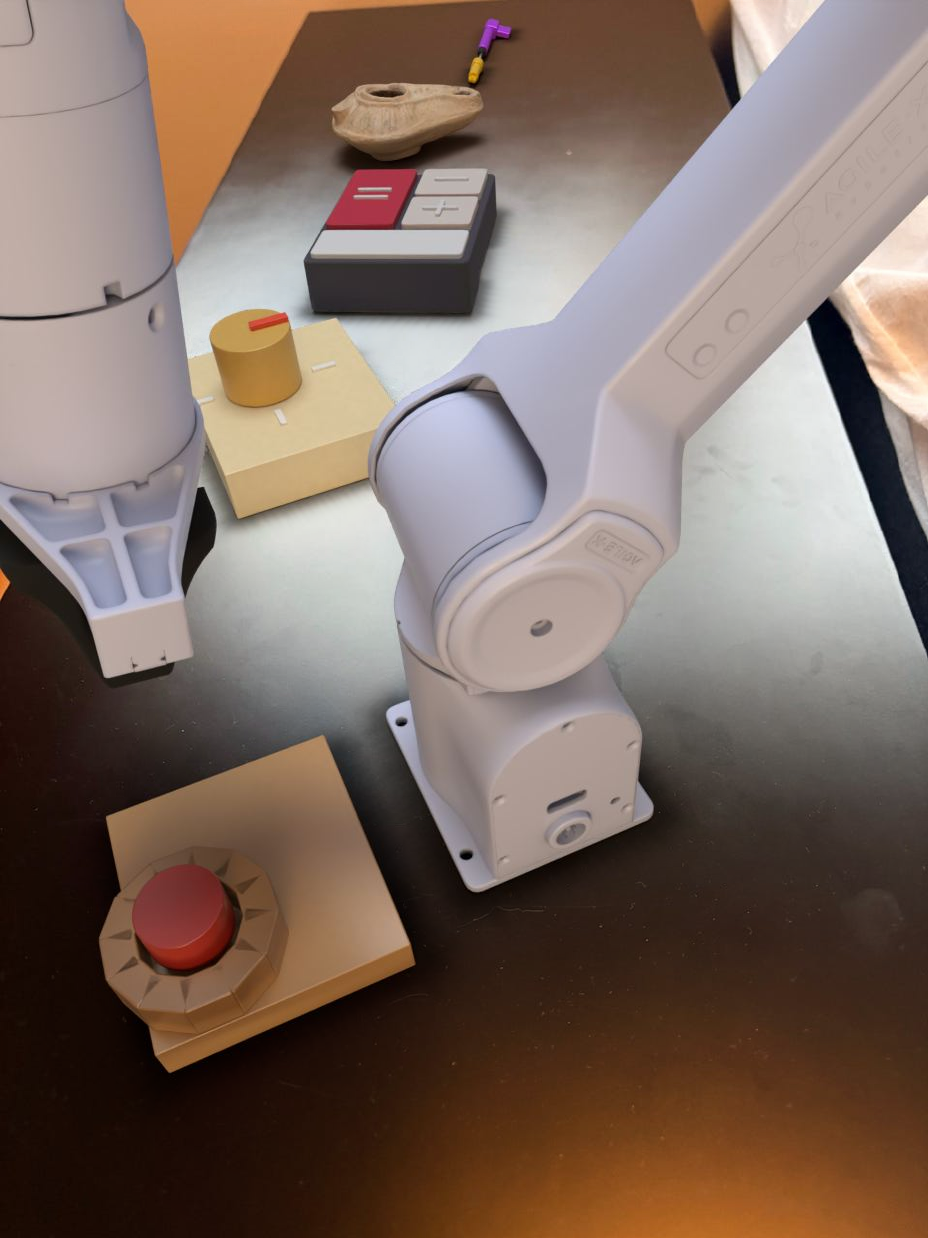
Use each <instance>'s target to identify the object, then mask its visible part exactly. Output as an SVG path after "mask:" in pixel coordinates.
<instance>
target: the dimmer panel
mask: <svg viewBox="0 0 928 1238" xmlns="http://www.w3.org/2000/svg"><path fill="white" fill-rule="evenodd" d="M291 330H292V335H293V339H294V344H295V349H296V353H297V358H298V362H299V367H300V371H301V376H302V381H301V385H300V387H299V388H298V390H297V391H296V392H295V393H294V394H292V395H291V396H290V397H288V398H286V399H285V400H283V401H280V402H278V403H275V404H271V405H267V406H259V407H250V406H243V405H239V404H236V403H234V402H232V401H231V400H230V399H229V398H228V397H227V396H226V394H225V391H224V388H223V384H222V381H221V377H220V374H219V370H218V367H217V363H216V360H215V357H214V353H213V351H211V352H207V353H204V354H200V355H197V356H194V357H190V358H188V366H189V373H190V381H191V388H192V395H193V396H194V397H195V399H196V401H197V402H198V404H199V405H200V407H201V411H202V414H203V419H204V427H205V435H206V444H205V445H206V446H207V448H208V450H209V454H210V455H211V458H212V460H213V463H214V465H215V468H216V470H217V472H218V475H219V477H220V480H221V482H222V485H223V487H224V489H225V491H226V494H227V496H228V499H229V500H230V501H229V502H230V503H231V505H232V508H233V510H234V513H235V515H236V517H237V519H238V520H240V519H243V518H246V517H249V516H252V515H255V514H259V513H261V512H264V511H265V512H266V511H268V510H271V509H274V508H277V507H281V506H283V505H287V504H289V503H290V504H291V503H292V502H297V501H299V500H303V499H305V498H309V497H312V496H316V495H318V494H321V493H324V492H327V491H331V490H335V489H337V488H340V487H343V486H346V485H350V484H352V483H356V482H358V481H362V480H366V479H369V476H368V454H369V449H370V445H371V442H372V439H373V437H374V434H375V432H376V431H377V429H378V427H379V425H380V423H381V422H382V421H383V419H384V418H385V417H386V416H387V414H388V413H389V412H390V411H391V410H392V409H393V408H394V407H395V406H396V405H397V404H396V403H395V402H394V400H393V399H392V398H391V396H390V395H389V393H388V392H387V390H386V389H385V387H384V386H383V384H382V383H381V381H380V380H379V379H378V377H377V376H376V374H375V373H374V371H373V369H372V368H371V367H370V365H369V364H368V362H367V361H366V360H365V358H364V357H363V355H362V353H361V352H360V351H359V349H358V347H357V346H356V345H355V343H354V342H353V340H352V339H351V337H350V335H349V334H348V333H347V331H346V330H345V328H344V327H343V326H342V324H341V323H340V321H339V319H338V318H337V317H334V318H330V319H327V320H323V321H320V322H316V323H312V324H308V325H304V326H301V327H298V328H294V329H291Z"/></svg>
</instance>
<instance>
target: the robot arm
mask: <svg viewBox="0 0 928 1238" xmlns="http://www.w3.org/2000/svg"><path fill="white" fill-rule="evenodd" d="M126 8H127V7H126V1H125V0H0V571H1V573H2V574H3V575H4V577H5V578H6V580H8V582H9V583H10V584H11V586H12V587H13V588H14V589H15V590H17V591H19V592H21V593H22V594H25V595H26V596H29V597H30V598H32V599H33V600H35V601H37V602H38V603H39V604H41V605H43V606H44V607H45V608H46V609H47V610H49V611H50V612H51V613H52V614H53V615H54V616H55V617H57V618H58V620H59V621H60V622H61V623H62V624H63V626H64V627H65V628H66V629H67V630H68V631H69V633H70V635H71V636H72V638H73V640H74V641H75V642H76V644H77V646H78V647H79V648H80V650H81V652H82V653H83V655H84V657H85V658H86V661H88V663H89V665H90V666H91V668H92V669H93V671H94V672H95V674H96V675H97V676H98V677H99V678H100V680H101V681H102V683H104V684H105V686H106V687H107V688H109V689H112V690H113V689H117V688H122V687H126V686H130V685H133V684H134V685H135V684H138V683H141V682H145V681H150V680H153V679H157V678H161V677H165V676H169V675H171V674H172V672H173V671H174V667H175V664H176V662H178V661H182V660H187V659H190V658H193V657H194V656H195V651H194V650H195V649H194V644H193V637H192V631H191V625H190V620H189V614H188V608H187V602H186V598H187V595H188V591H189V588H190V586H191V584H192V582H193V579H194V577H195V576H196V575H195V574H196V573H197V571H198V570H199V568H200V567H201V565H202V564H203V562H204V560H205V559H206V558H207V556H208V555H209V554H210V553H211V551H212V550H213V549H214V547H215V543H216V538H217V537H216V536H217V530H218V529H217V528H218V521H217V515H216V512H215V509H214V507H213V505H212V503H211V500H210V498H209V496H208V493H207V491H206V488H205V486H199V481H200V477H201V472H202V467H203V462H204V456H205V452H206V445H207V444H206V435H205V427H204V419H203V414H202V411H201V407H200V405H199V404H198V402H197V401H196V399H195V397H194V396H193V395H192V388H191V381H190V373H189V366H188V359H189V358H188V352H187V345H186V338H185V337H186V336H185V329H184V322H183V314H182V307H181V298H180V292H179V291H180V290H179V284H178V277H177V269H176V261H175V255H174V251H173V250H174V249H173V243H172V235H171V227H170V220H169V213H168V206H167V199H166V198H167V197H166V191H165V185H164V177H163V170H162V169H163V168H162V163H161V162H162V161H161V155H160V147H159V141H158V133H157V125H156V119H155V111H154V104H153V96H152V90H151V83H150V75H149V63H148V55H147V48H146V44H145V40H144V38H143V35H142V32H141V29H140V27H138V25H137V24H136V22H135V21H134V20H133V18H132V17H131V15H130V14H129V12H128V11H127V9H126ZM927 197H928V0H823V2H822V3H820V5H819V6H818V7H817V9H816V10H815V11H814V12H813V13H812V15H810V17H809V18H808V19H807V20H806V21H805V23H804V24H803V25H802V26H801V28H800V29H799V30H798V31H797V32H796V33H795V35H793V37H792V38H791V39H790V40H789V41H788V43H786V45H785V46H784V48H783V49H782V50H781V51H780V52H779V53H778V55H777V56H775V58H774V59H773V60H772V62H771V63H770V64H769V65H768V67H766V69H765V70H764V71H763V73H761V75H760V76H759V77H758V78H757V79H756V81H754V82H753V84H752V85H751V86H750V88H748V90H747V91H746V92H745V93H744V95H743V96H742V97H740V100H739V101H738V102H737V103H736V104H735V105H734V106H733V108H732V109H731V110H730V111H729V113H727V115H726V116H725V117H724V118H723V119H722V121H721V122H720V123H719V124H718V125H717V126H716V127H715V129H714V130H713V131H712V132H711V133H710V135H709V136H708V137H707V138H706V140H704V142H703V143H702V144H701V145H700V146H699V147H698V149H697V150H696V151H695V152H694V154H693V155H692V156H691V157H690V158H689V159H688V161H686V163H685V164H684V165H683V166H682V168H680V170H679V171H678V172H677V174H675V176H674V177H673V178H672V180H670V181H669V183H668V184H667V185H666V186H665V188H664V189H663V190H662V191H661V192H660V194H659V195H658V196H657V197H656V198H655V199H654V201H652V203H651V204H650V205H649V206H648V208H646V210H645V211H644V212H643V214H641V216H640V217H639V218H638V219H637V220H636V222H635V223H634V224H633V226H631V228H630V229H629V230H628V231H627V233H625V235H624V236H623V237H622V238H621V239H620V240H619V242H618V243H617V244H616V246H614V248H613V249H612V250H611V251H610V252H609V254H608V255H607V256H605V258H604V259H603V261H602V262H600V263H599V265H598V266H597V268H596V269H595V270H594V271H593V272H592V273H591V274H590V275H589V277H588V278H587V279H586V280H585V282H584V283H583V284H582V285H581V286H580V287H579V289H578V290H577V291H576V292H575V293H574V294H573V296H572V297H571V298H570V299H569V300H568V301H567V303H566V304H565V305H564V307H563V308H562V309H561V310H560V311H559V313H557V315H556V316H555V317H554V318H553V319H551V320H549V321H546V322H543V323H537V324H531V325H525V326H518V327H512V328H506V329H505V328H504V329H502V330H496V331H491V332H488V333H486V334H484V335H483V336H482V337H481V338H480V339H479V340H478V341H477V342H476V344H475V345H474V347H472V349H471V350H470V351H469V352H468V353H467V355H466V356H465V357H464V358H463V359H462V360H461V361H460V362H459V363H457V365H456V366H455V367H453V368H452V369H451V370H449V371H448V372H447V373H445V374H444V375H442V376H441V377H439V378H437V379H435V380H433V381H431V382H429V383H428V384H425V385H424V386H421V387H420V388H418V389H416V390H414V391H412V392H411V393H410V394H408V395H406V396H405V397H404V398H402V399H400V400H399V402H398V403H397V404H395V405H396V406H395V407H394V408H393V409H392V410H391V411H390V412H389V413H388V414H387V416H386V417H385V418H384V419H383V421H382V422H381V423H380V425H379V427H378V429H377V431H376V432H375V434H374V437H373V439H372V442H371V445H370V449H369V454H368V476H369V477H368V481H369V485H370V486H371V490H372V492H373V493H374V496H375V498H376V501H377V503H378V504H379V505H380V506H381V507H382V508H383V509H384V510H385V513H386V515H387V518H388V521H389V523H390V525H391V527H392V530H393V532H394V535H395V538H396V540H397V543H398V546H399V547H400V550H401V552H402V555H403V557H404V558H403V562H402V566H401V569H400V572H399V575H398V578H397V582H396V586H395V590H394V596H393V612H394V618H395V623H396V629H397V635H398V640H399V646H400V652H401V659H402V665H403V669H404V676H405V682H406V687H407V692H408V699H407V700H405V701H403V702H400V703H397V704H394V705H391V706H390V707H388V709H387V710H386V713H385V718H386V722H387V725H388V726H389V729H390V730H391V731H390V732H391V733H392V735H393V737H394V739H395V741H396V743H397V745H398V747H399V750H400V752H401V754H402V756H403V759H404V761H405V762H406V764H407V766H408V769H409V771H410V773H411V775H412V777H413V779H414V781H415V783H416V785H417V788H418V789H419V791H420V793H421V796H422V798H423V800H424V802H425V804H426V806H427V808H428V810H429V813H430V814H431V817H432V819H433V821H434V823H435V826H436V827H437V829H438V831H439V833H440V835H441V837H442V840H443V842H444V844H445V846H446V848H447V851H448V852H449V854H450V857H451V859H452V861H453V863H454V865H455V867H456V869H457V871H458V873H459V875H460V877H461V879H462V883H464V885H465V887H466V888H467V890H470V892H473V893H480V892H481V893H482V892H484V891H486V890H489V889H491V888H493V887H495V886H498V885H500V884H503V883H505V882H507V881H510V880H512V879H514V878H516V877H519V876H521V875H524V874H525V873H529V872H530V871H533V870H535V869H538V868H540V867H542V866H544V865H547V864H549V863H551V862H553V861H556V860H559V859H561V858H563V857H565V856H568V855H570V854H572V853H575V852H578V851H580V850H582V849H584V848H587V847H589V846H592V845H594V844H596V843H598V842H601V841H602V840H605V839H608V838H609V837H612V836H614V835H617V834H619V833H621V832H624V831H626V830H628V829H630V828H633V827H635V826H637V825H640V824H642V823H645V822H648V820H650V819H651V818H652V817H653V815H654V808H655V807H654V803H653V801H652V799H651V797H650V796H649V795H648V793H647V792H646V791H645V789H644V788H643V786H642V784H641V783H640V781H639V773H640V766H641V765H640V763H641V755H642V754H641V753H642V745H643V731H642V727H641V724H640V722H639V719H638V718H637V716H636V715H635V713H634V712H633V710H632V708H631V707H630V705H629V704H628V703H627V701H626V699H625V697H624V696H623V694H622V692H621V690H620V689H619V687H618V686H617V684H616V682H615V681H614V679H613V676H612V673H611V671H610V668H609V666H608V662H607V660H606V657H605V653H604V652H605V650H606V649H607V647H609V645H610V644H611V643H612V642H613V641H614V640H615V639H616V637H617V636H618V635H619V633H620V631H621V630H622V628H623V627H624V625H625V624H626V622H627V620H628V617H629V615H630V614H631V612H632V608H633V607H634V604H635V602H636V600H637V598H638V596H639V595H640V593H641V592H642V590H643V589H644V588H645V586H646V585H647V583H648V582H649V581H650V580H651V579H652V578H653V576H654V575H655V574H656V573H657V572H658V571H659V570H660V569H661V568H662V567H663V566H664V565H666V563H667V562H668V561H669V560H671V558H673V556H675V554H677V552H678V551H679V547H680V542H681V534H682V501H683V500H682V498H683V460H684V452H685V447H686V443H687V442H688V441H689V440H690V439H691V438H692V437H693V436H694V435H695V434H696V433H697V431H698V430H700V428H702V426H704V425H705V424H706V422H708V421H709V419H711V418H712V416H713V415H714V414H715V413H716V412H717V411H718V410H720V408H721V407H722V406H723V405H724V404H725V403H726V402H727V401H728V400H729V399H730V398H731V397H732V396H733V395H734V394H735V393H736V392H737V391H738V390H739V389H740V388H741V386H743V385H744V384H745V382H746V381H748V379H749V378H750V377H751V376H753V374H755V372H756V371H757V370H758V369H759V368H761V366H762V365H764V363H766V361H767V360H768V359H769V358H770V357H771V356H772V355H773V354H774V353H775V352H776V351H777V350H778V349H779V348H780V347H781V346H782V345H783V344H784V343H785V342H786V341H787V339H789V338H790V336H791V335H793V334H794V333H795V331H797V330H798V328H799V327H800V326H802V324H803V323H805V321H806V320H808V318H809V317H810V316H811V315H812V314H813V313H814V312H815V311H816V310H817V309H818V308H819V307H820V306H821V305H822V304H823V303H824V302H825V301H826V300H828V298H829V297H830V296H831V295H832V294H833V293H834V292H835V291H836V289H838V288H839V287H840V286H841V285H842V284H843V282H845V280H847V278H848V277H850V275H851V274H852V273H853V272H855V270H856V269H857V268H858V267H859V266H860V265H862V263H863V262H864V261H865V260H866V259H867V258H868V257H869V256H870V255H871V254H872V253H873V252H874V251H875V250H876V249H877V248H878V247H879V246H880V245H881V244H882V243H883V242H884V240H885V239H887V238H888V237H889V236H890V234H892V232H894V231H895V229H897V228H898V226H899V225H900V224H901V223H902V222H903V221H904V220H905V219H906V218H907V217H909V215H910V214H911V213H912V212H913V211H914V210H915V209H916V208H917V207H918V206H919V205H920V204H921V203H922V202H923V201H924V200H925V199H926V198H927ZM402 723H404V725H403V726H399V724H402ZM465 854H469V855H472V857H471V858H468V859H463V858H462V856H463V855H465Z"/></svg>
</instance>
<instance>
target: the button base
mask: <svg viewBox="0 0 928 1238" xmlns="http://www.w3.org/2000/svg"><path fill="white" fill-rule="evenodd" d="M105 820H106V826H107V830H108V835H109V840H110V845H111V850H112V854H113V859H114V864H115V869H116V874H117V879H118V883H119V889H120V892H118V893H117V895H116V896H115V897H114V898H113V900H112V903H111V905H110V908H109V911H108V913H107V916H106V919H105V921H104V924H103V926H102V929H101V932H100V934H99V936H98V944H99V951H100V956H101V961H102V967H103V972H104V978H105V981H106V983H107V984H108V986H109V988H111V989H112V991H113V992H114V993H115V994H116V996H117V997H118V998H119V1000H120V1001H121V1002H122V1003H123V1004H124V1005H125V1006H126V1007H127V1008H128V1009H129V1010H130V1011H131V1012H132V1013H134V1015H136V1016H137V1017H138V1018H139V1019H141V1021H143V1022H144V1023H145V1024H146V1025H147V1026H148V1029H149V1035H150V1040H151V1044H152V1049H153V1055H154V1056H155V1057H156V1059H157V1060H158V1061H159V1062H160V1064H162V1066H163V1067H164V1069H165V1070H166V1071H167V1072H168V1074H170V1073H173V1072H175V1071H177V1070H180V1069H182V1068H184V1067H187V1066H189V1065H192V1064H193V1063H197V1062H198V1061H200V1060H203V1059H204V1058H207V1057H209V1056H212V1055H213V1054H216V1053H219V1052H221V1051H223V1050H226V1049H228V1048H230V1047H232V1046H234V1045H236V1044H239V1043H241V1042H243V1041H246V1040H248V1039H250V1038H253V1037H254V1036H257V1035H260V1034H262V1033H263V1032H266V1031H269V1030H271V1029H273V1028H275V1027H277V1026H279V1025H280V1026H281V1025H282V1024H284V1023H287V1022H288V1021H291V1020H293V1019H296V1018H297V1017H300V1016H302V1015H304V1014H307V1013H309V1012H311V1011H314V1010H317V1009H319V1008H320V1007H322V1006H325V1005H328V1004H330V1003H332V1002H334V1001H336V1000H339V999H341V998H343V997H345V996H348V995H350V994H352V993H355V992H357V991H359V990H361V989H363V988H366V987H368V986H371V985H373V984H374V983H377V982H380V981H381V980H384V979H386V978H389V977H391V976H393V975H395V974H397V973H400V972H403V971H405V970H406V969H409V968H411V967H413V966H415V965H416V960H415V956H414V951H413V948H412V947H413V946H412V944H411V941H410V938H409V936H408V934H407V931H406V929H405V927H404V923H403V921H402V919H401V918H400V914H399V912H398V909H397V907H396V905H395V903H394V900H393V898H392V895H391V893H390V890H389V888H388V886H387V883H386V881H385V878H384V876H383V874H382V871H381V869H380V867H379V864H378V862H377V859H376V857H375V854H374V852H373V849H372V847H371V845H370V842H369V839H368V837H367V835H366V832H365V830H364V828H363V826H362V823H361V821H360V819H359V816H358V814H357V811H356V809H355V806H354V804H353V801H352V799H351V797H350V794H349V792H348V790H347V786H346V785H345V782H344V780H343V778H342V775H341V773H340V770H339V767H338V765H337V763H336V761H335V758H334V756H333V753H332V750H331V748H330V746H329V744H328V742H327V739H326V737H325V735H324V734H321V735H319V736H316V737H314V738H311V739H308V740H305V741H302V742H300V743H298V744H294V745H292V746H289V747H287V748H284V749H281V750H279V751H277V752H273V753H271V754H269V755H268V754H267V755H265V756H263V757H260V758H257V759H255V760H252V761H250V762H247V763H244V764H242V765H239V766H237V767H233V768H231V769H229V770H226V771H223V772H220V773H217V774H215V775H212V776H210V777H207V778H204V779H201V780H199V781H196V782H194V783H191V784H189V785H186V786H183V787H180V788H178V789H176V790H175V789H174V790H173V791H170V792H167V793H165V794H161V795H160V796H157V797H154V798H151V799H150V800H149V799H148V800H146V801H143V802H141V803H138V804H135V805H132V806H130V807H127V808H125V809H122V810H120V811H116V812H114V813H111V814H109V815H106V816H105ZM184 864H192V865H198V866H202V867H204V868H206V869H208V870H210V871H211V872H212V873H214V874H215V875H216V877H217V878H218V879H219V881H220V883H221V885H222V887H223V889H224V890H225V892H226V894H227V896H228V898H229V900H230V902H231V904H232V906H233V909H234V912H235V920H236V922H235V929H234V933H233V936H232V938H231V940H230V942H229V944H228V946H227V947H226V949H225V950H224V951H223V952H222V953H221V954H220V955H219V956H218V957H217V958H216V959H215V960H213V961H212V962H211V963H209V964H207V965H205V966H203V967H201V968H198V969H196V970H191V971H173V970H169V969H166V968H164V967H162V966H161V965H159V964H158V963H157V962H156V961H155V960H154V959H153V957H152V956H151V954H150V953H149V951H148V950H147V949H146V947H145V946H144V944H143V943H142V941H141V940H140V938H139V937H138V935H137V934H136V932H135V930H134V927H133V923H132V910H133V905H134V902H135V900H136V897H137V895H138V894H139V892H140V890H141V889H142V888H143V886H144V885H145V884H146V883H147V882H148V881H149V880H150V879H151V878H152V877H154V876H155V875H157V874H158V873H160V872H161V871H163V870H165V869H168V868H170V867H173V866H177V865H184Z"/></svg>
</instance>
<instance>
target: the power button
mask: <svg viewBox="0 0 928 1238" xmlns="http://www.w3.org/2000/svg"><path fill="white" fill-rule="evenodd" d="M235 922H236V920H235V912H234V909H233V906H232V904H231V902H230V900H229V898H228V896H227V894H226V892H225V890H224V889H223V887H222V885H221V883H220V881H219V879H218V878H217V877H216V875H215V874H214V873H212V872H211V871H210V870H208V869H206V868H204V867H202V866H198V865H192V864H184V865H177V866H173V867H170V868H168V869H165V870H163V871H161V872H160V873H158V874H157V875H155V876H154V877H152V878H151V879H150V880H149V881H148V882H147V883H146V884H145V885H144V886H143V888H142V889H141V890H140V892H139V894H138V895H137V897H136V900H135V902H134V905H133V910H132V923H133V927H134V930H135V932H136V934H137V935H138V937H139V938H140V940H141V941H142V943H143V944H144V946H145V947H146V949H147V950H148V951H149V953H150V954H151V956H152V957H153V959H154V960H155V961H156V962H157V963H158V964H159V965H161V966H162V967H164V968H166V969H169V970H173V971H191V970H196V969H198V968H201V967H203V966H205V965H207V964H209V963H211V962H212V961H213V960H215V959H216V958H217V957H218V956H219V955H220V954H221V953H222V952H223V951H224V950H225V949H226V947H227V946H228V944H229V942H230V940H231V938H232V936H233V933H234V929H235Z"/></svg>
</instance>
